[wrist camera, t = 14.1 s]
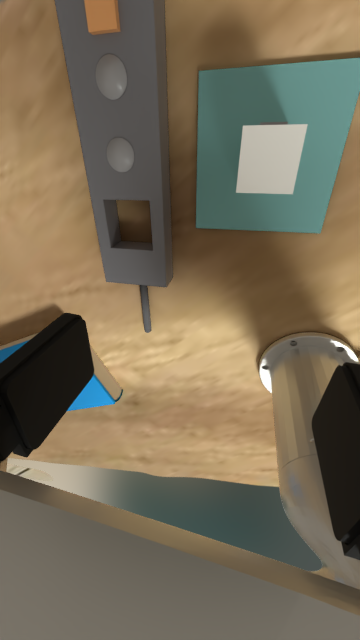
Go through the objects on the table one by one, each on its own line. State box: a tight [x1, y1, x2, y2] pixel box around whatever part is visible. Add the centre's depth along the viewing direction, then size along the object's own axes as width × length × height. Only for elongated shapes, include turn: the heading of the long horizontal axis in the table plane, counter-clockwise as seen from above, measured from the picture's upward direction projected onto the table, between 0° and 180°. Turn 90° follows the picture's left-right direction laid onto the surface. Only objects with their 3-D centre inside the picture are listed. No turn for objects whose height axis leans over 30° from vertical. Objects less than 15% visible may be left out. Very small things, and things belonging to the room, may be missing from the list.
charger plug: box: [236, 122, 308, 194], centre depth 21 cm, size 4×4×8 cm
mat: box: [196, 58, 360, 233], centre depth 24 cm, size 13×13×1 cm
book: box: [0, 332, 123, 411], centre depth 49 cm, size 17×4×25 cm
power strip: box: [55, 0, 173, 333], centre depth 29 cm, size 33×8×4 cm, turn 1°
